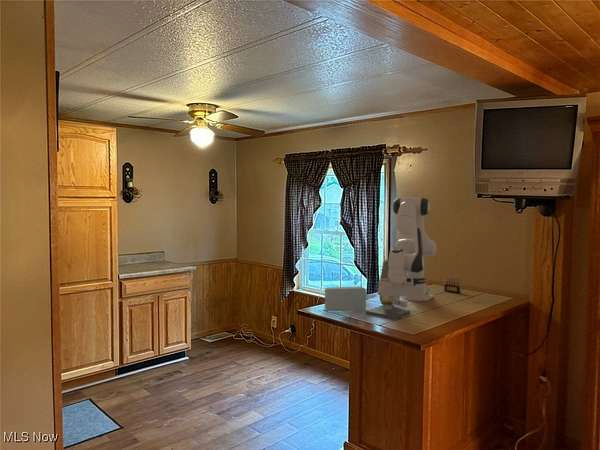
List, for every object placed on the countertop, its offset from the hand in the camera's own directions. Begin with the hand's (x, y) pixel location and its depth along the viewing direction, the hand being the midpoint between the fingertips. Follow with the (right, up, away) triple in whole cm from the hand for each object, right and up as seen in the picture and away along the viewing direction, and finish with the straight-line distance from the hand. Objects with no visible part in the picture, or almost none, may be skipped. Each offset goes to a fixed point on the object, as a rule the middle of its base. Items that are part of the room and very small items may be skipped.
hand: (395, 303), depth 242 cm
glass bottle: (+1, -6, +28) cm, 29 cm away
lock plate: (-2, -7, +9) cm, 12 cm away
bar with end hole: (-26, -7, +17) cm, 31 cm away
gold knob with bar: (0, -1, +4) cm, 4 cm away
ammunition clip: (+55, -4, +70) cm, 89 cm away
